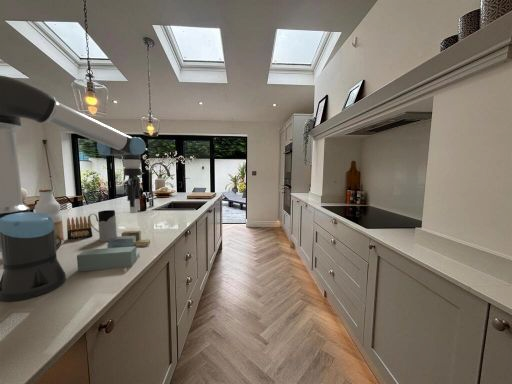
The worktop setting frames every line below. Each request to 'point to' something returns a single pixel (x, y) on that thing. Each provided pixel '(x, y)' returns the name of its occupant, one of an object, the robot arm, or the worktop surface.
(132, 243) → the steel block
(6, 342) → the worktop surface
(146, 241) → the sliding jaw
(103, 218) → the grey mug
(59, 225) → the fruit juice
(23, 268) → the robot arm
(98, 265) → the block
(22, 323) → the worktop surface
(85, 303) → the worktop surface
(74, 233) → the ammunition clip
